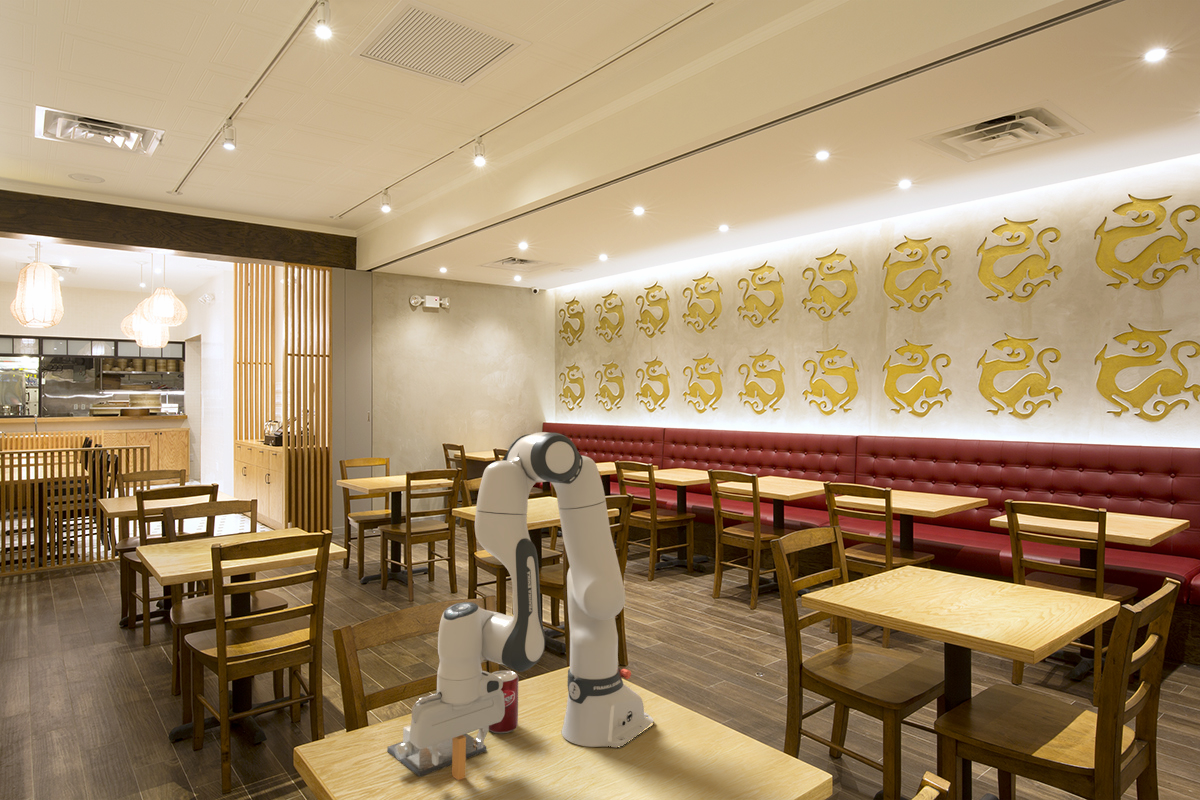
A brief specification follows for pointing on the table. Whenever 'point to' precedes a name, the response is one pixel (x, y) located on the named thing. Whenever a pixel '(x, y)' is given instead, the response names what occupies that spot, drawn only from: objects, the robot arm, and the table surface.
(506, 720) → the soda can
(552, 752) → the table surface
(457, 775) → the orange rectangular bar
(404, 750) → the grey piece
